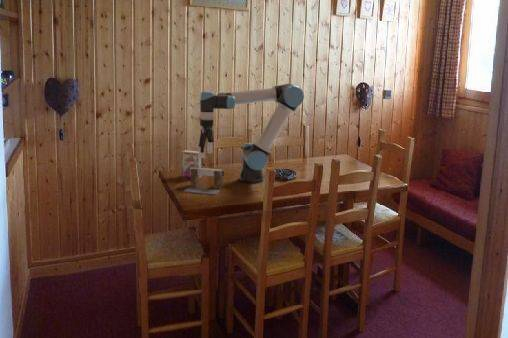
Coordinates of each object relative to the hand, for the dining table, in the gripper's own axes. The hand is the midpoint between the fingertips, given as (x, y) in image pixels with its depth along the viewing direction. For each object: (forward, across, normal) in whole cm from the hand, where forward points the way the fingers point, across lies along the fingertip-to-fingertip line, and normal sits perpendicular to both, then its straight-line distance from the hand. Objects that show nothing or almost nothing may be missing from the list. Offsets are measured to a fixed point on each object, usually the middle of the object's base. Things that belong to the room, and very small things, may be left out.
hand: (206, 155), depth 291 cm
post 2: (+18, 0, +7) cm, 20 cm away
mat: (+18, +11, +1) cm, 21 cm away
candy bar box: (+19, -17, -15) cm, 29 cm away
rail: (+12, 0, 0) cm, 12 cm away
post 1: (+18, 0, -7) cm, 20 cm away
